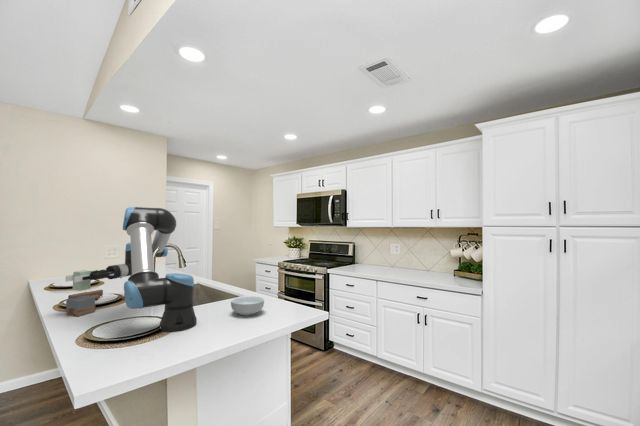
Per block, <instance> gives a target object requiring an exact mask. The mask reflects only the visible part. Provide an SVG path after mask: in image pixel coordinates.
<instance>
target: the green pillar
mask: <svg viewBox="0 0 640 426" xmlns="http://www.w3.org/2000/svg"><path fill="white" fill-rule="evenodd" d="M91 271H92V270H77V271H73V272H72V275H73V281H72V291H78V292H81V291H85V290H91V286H92V285H91V283H92V280H90V279H89V280H87V281H81V282H75V283H74V277H76V276H83V275H89V276H90V273H91Z"/></svg>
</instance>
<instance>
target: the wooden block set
mask: <svg viewBox="0 0 640 426" xmlns="http://www.w3.org/2000/svg"><path fill="white" fill-rule="evenodd" d="M103 294H104V291H103V289H96V290H90V291H85V292H77V293H73V294H69V295H68V298H67V299H71V298H76V297H80V296H91V297H95V299H98V298H99V299H100V298H101V297H100V296H102V295H103ZM103 296H104V295H103ZM103 296H102V297H103Z"/></svg>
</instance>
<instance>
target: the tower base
mask: <svg viewBox="0 0 640 426" xmlns="http://www.w3.org/2000/svg"><path fill="white" fill-rule="evenodd" d="M65 312H66V313H65V314H66V316H68V317H69V316H70V317H76V318H79V317H82V316H83V317H84V316H86V315H89V314H93V313H95V312H96V304H95V305H92V306H88V307H85V308H81V309H72V308H66V311H65Z"/></svg>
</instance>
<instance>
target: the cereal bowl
mask: <svg viewBox="0 0 640 426" xmlns="http://www.w3.org/2000/svg"><path fill="white" fill-rule="evenodd" d="M264 299H265V298H264V297H260V296H255V295H254V296H253V295H252V296H251V295H250V296H249V295H247V296H246V295H245V296H239V297H235V298H232V299H231V301H230V307H231V309H232V311H234V313H237V314H239V315H241V316H246V317H247V316H253V315H255V314H256V313H258V312H260V311H261V310H262V309H263V308H264V305H265V300H264Z"/></svg>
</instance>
